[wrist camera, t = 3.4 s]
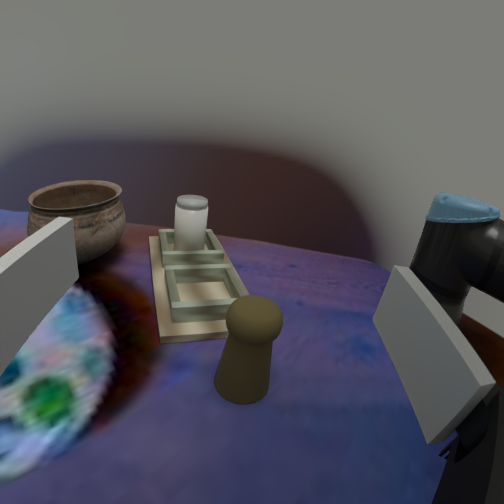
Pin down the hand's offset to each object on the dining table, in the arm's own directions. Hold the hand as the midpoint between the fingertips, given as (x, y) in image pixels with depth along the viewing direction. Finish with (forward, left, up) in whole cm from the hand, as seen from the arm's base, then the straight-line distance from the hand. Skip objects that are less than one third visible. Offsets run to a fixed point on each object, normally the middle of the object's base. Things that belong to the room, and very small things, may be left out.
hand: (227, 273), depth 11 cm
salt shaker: (-6, -39, -19) cm, 44 cm away
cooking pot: (+15, -41, -21) cm, 48 cm away
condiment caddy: (-6, -32, -20) cm, 38 cm away
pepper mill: (-7, -10, -21) cm, 24 cm away
